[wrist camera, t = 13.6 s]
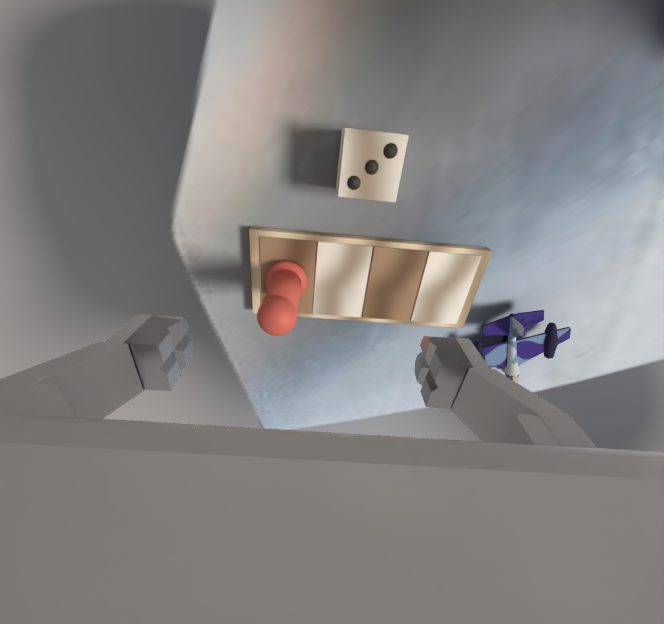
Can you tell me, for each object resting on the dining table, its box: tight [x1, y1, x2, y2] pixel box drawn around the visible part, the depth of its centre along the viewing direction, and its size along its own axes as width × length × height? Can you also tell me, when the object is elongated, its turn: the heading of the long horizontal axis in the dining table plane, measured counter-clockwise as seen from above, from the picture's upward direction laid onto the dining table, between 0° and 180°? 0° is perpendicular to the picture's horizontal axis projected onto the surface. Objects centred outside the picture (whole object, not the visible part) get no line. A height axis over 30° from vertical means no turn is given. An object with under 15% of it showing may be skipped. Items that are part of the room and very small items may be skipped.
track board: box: [249, 226, 492, 328], centre depth 34 cm, size 26×10×1 cm, turn 84°
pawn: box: [257, 260, 307, 336], centre depth 28 cm, size 4×4×10 cm
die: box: [336, 128, 409, 202], centre depth 26 cm, size 5×5×5 cm
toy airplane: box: [474, 310, 571, 384], centre depth 38 cm, size 13×14×4 cm
